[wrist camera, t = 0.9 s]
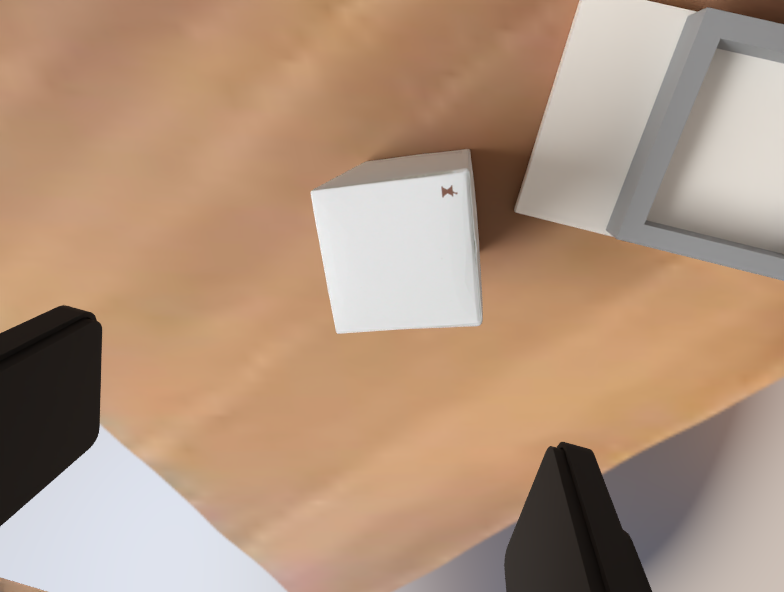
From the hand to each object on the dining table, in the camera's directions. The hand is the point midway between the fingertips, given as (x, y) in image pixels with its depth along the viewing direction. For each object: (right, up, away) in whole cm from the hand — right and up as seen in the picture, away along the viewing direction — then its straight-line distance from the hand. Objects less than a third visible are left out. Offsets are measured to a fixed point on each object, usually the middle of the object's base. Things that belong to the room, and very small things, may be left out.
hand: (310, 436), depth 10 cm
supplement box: (+4, +9, +25) cm, 27 cm away
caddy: (+21, +12, +21) cm, 32 cm away
